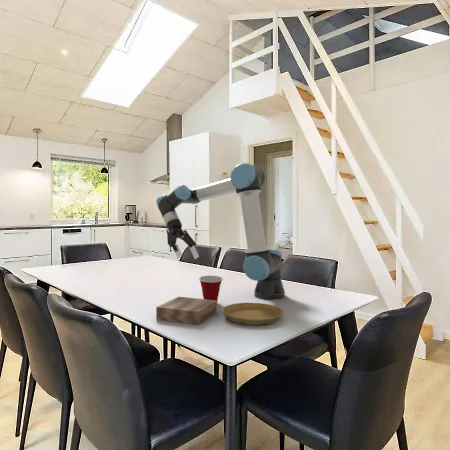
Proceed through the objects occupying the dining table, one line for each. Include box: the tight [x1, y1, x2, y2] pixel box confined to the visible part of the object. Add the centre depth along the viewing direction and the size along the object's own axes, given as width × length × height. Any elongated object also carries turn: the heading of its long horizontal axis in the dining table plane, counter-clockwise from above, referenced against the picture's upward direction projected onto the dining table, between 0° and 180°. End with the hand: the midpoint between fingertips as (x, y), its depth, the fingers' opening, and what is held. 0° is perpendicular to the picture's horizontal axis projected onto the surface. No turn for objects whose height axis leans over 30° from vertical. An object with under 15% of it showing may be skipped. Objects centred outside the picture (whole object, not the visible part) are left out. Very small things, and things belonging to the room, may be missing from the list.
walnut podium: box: [155, 296, 218, 326], centre depth 148 cm, size 18×18×5 cm
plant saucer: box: [222, 302, 284, 326], centre depth 146 cm, size 24×24×3 cm
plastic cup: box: [198, 274, 224, 302], centre depth 167 cm, size 11×11×12 cm
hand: (188, 257), depth 181 cm, fingers open, 13 cm apart
